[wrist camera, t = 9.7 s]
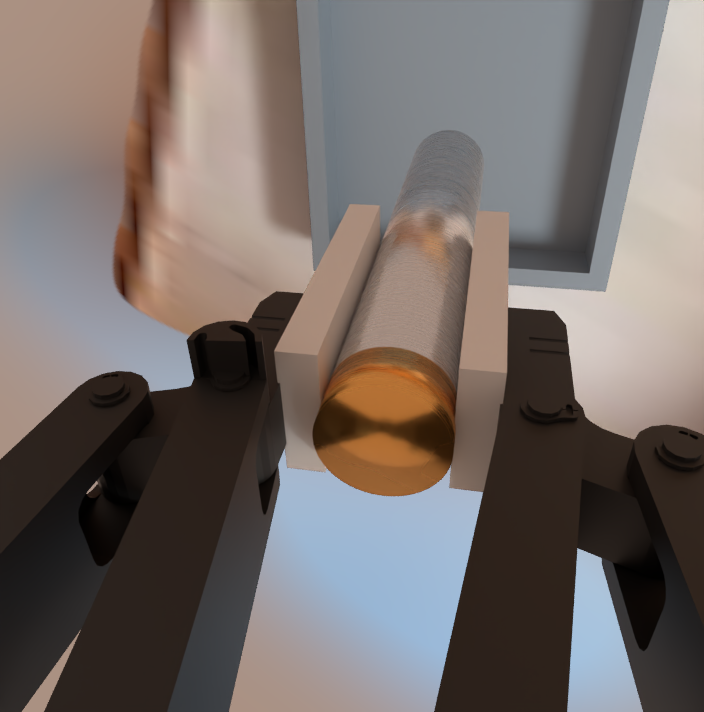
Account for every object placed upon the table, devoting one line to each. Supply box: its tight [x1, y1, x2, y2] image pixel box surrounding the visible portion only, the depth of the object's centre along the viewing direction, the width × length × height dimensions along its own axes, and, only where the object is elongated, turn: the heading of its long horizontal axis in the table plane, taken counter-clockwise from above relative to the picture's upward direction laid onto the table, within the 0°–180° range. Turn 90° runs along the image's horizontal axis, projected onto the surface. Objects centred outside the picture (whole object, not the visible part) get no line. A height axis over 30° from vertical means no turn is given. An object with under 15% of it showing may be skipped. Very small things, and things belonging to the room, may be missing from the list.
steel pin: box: [312, 130, 484, 496], centre depth 17 cm, size 2×2×14 cm
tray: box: [296, 0, 669, 292], centre depth 32 cm, size 20×16×4 cm
